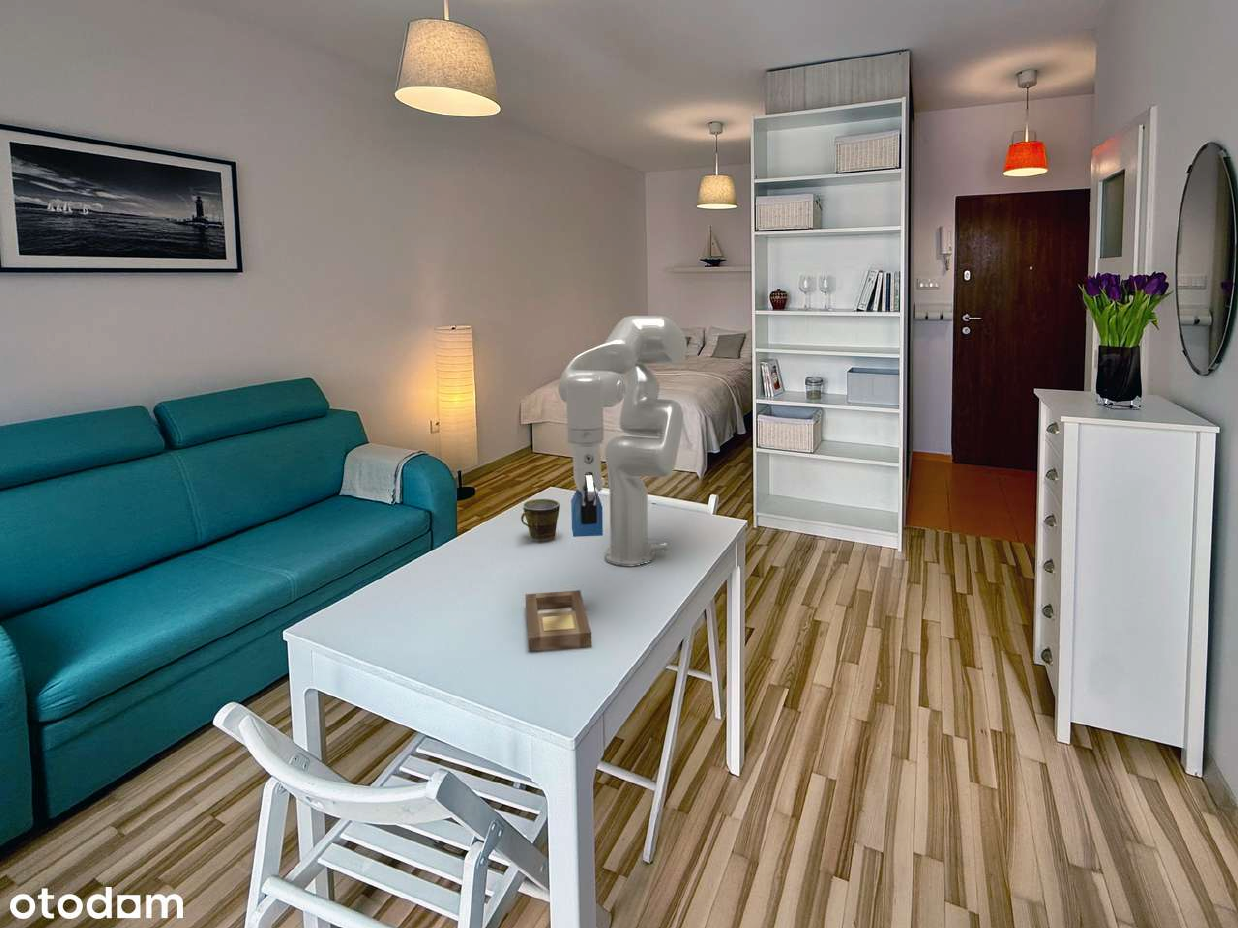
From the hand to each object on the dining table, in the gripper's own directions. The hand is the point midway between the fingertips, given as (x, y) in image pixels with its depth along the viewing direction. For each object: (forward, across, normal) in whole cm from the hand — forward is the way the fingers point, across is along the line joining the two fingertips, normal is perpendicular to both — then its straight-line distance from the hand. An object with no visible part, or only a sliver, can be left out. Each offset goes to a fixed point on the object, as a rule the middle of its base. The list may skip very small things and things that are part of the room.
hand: (586, 517), depth 155 cm
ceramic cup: (+20, +43, +8) cm, 48 cm away
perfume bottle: (+3, 0, 0) cm, 3 cm away
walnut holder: (+20, -8, +8) cm, 23 cm away
